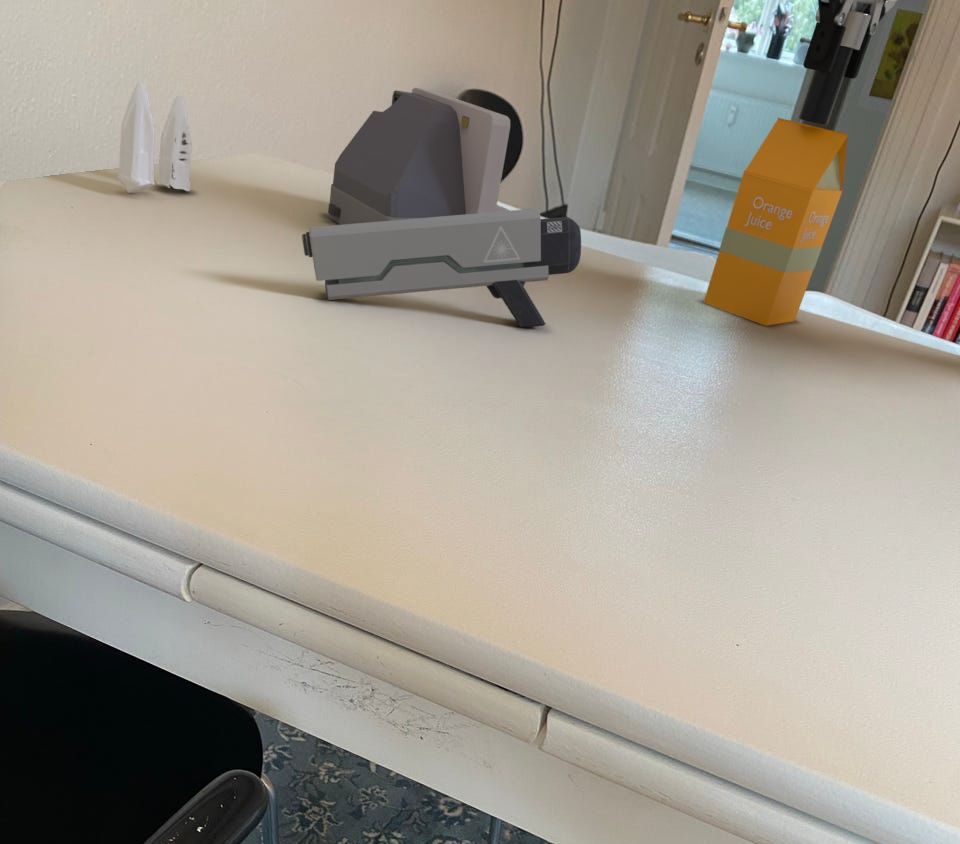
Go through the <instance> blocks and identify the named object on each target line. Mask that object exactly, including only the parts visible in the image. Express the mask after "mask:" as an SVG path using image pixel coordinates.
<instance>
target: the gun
mask: <svg viewBox="0 0 960 844" xmlns="http://www.w3.org/2000/svg"><path fill="white" fill-rule="evenodd" d="M301 240H302V246H303V252H304V256H305V257H307V256H308V258H312V263H313V267H314V268H313V269H314V276H315V280H316V281H317V282H320V281H324V288H325V295H326V299H327V300H328V301H334V300H346V299H355V298H366V297H367V298H368V297H377V296H390V295H399V294H409V293H422V292H431V291H432V292H434V291H445V290H454V289H456V290H457V289H465V288H466V289H467V288H476V287H477V288H479V287H486V288H487V289H488V292H490V295H491V296H492V297H493V298H494V299H502V301H503V303H504V304H505V306H506V308H507V309H508V310H509V312H510V314H511V315H512V317H513V318H514V320H515V321H516V323H517V324H518V326H519V327H521V328H534V327H543V326H545V325H546V321H545V320H544V318H543V317H542V315H541V313H540V312H539V310H538V309H537V306H536V305H535V303H534V302H533V300H532V298H531V296H530V295H529V293H528V291H527V289H526V288H525V285H526V283H532V282H533V283H534V282H543V281H544V282H545V281H548V280H549V276H552V275H563V274H564V275H565V274H570V273H572V272H573V271H575V270H576V269H577V267H578V266H579V264H580V261H581V254H582V233H581V227H580V226H579V224H578V223H577V222H576V221H575V220H574V219H572V218H571V217H568V216H562V217H561V216H559V217H547V218H541V212H540V211H538V209H537V208H529V209H528V208H527V209H515V210H513V209H512V210H510V211H500V212H488V213H476V214H465V215H453V216H441V217H429V218H417V219H405V220H393V221H381V222H369V223H357V224H345V225H340V224H335V225H323V226H322V225H321V226H311V227H309V228H308V231H305V233H303V234H301Z"/></svg>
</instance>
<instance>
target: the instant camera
mask: <svg viewBox="0 0 960 844" xmlns="http://www.w3.org/2000/svg"><path fill="white" fill-rule="evenodd" d="M510 131H511V119H510V118H509V116H508V115H505V114H502V113H500V112H496V111H493V110H490V109H487V108H484V107H481V106H479V105H476V104H473V103H470V102H467V101H464V100H462V99H458V98H455V97H453V96H449V95H447V94H444V93H441V92H438V91H435V90H433V89H426V88H421V87H420V88H419V87H414V88H412V89H411V92H408V91H403V90H394V91H393V93H392V97H391V105H390V106H389V107H388V108H386V109H385V110H383V111H378V110H372V111H371V113H370V114H369V116H368V117H367V119H366V120H365V121H364V122H363V124H361V126H360V128H359V129H358V131H357V132H356V133H355V135H354V136H353V137H352V139H351V140H350V141H349V143H347V145H346V146H345V148H344V149H343V150H342V152H341V153H340V155H339V156H338V158H337V160H336V161H335V163H334V169H333V180H332V183H331V185H330V195H329V203H328V210H327V213H328V218H329V219H330V220H332V221H334V222H335V223H337V224H338V225H345V224H357V223H369V222H381V221H393V220H405V219H417V218H429V217H441V216H453V215H465V214H476V213H488V212H500V211H511V210H510V209H508V208H506V207H504V206H500V205H499V204H498V199H499V195H500V188H501V182H502V177H503V172H504V167H505V166H504V165H505V160H506V154H507V149H508V142H509V136H510Z"/></svg>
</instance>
